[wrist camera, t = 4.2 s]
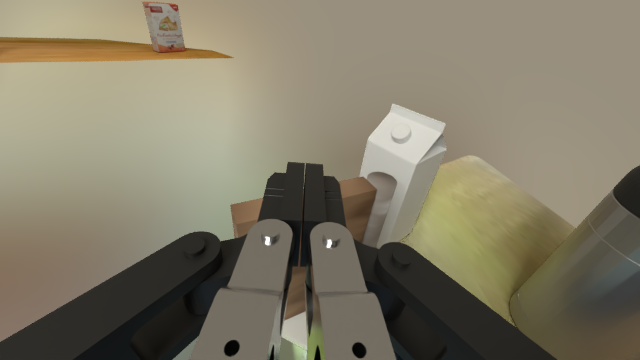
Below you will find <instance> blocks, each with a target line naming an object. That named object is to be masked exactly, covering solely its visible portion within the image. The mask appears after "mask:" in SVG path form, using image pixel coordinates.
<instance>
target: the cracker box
mask: <svg viewBox="0 0 640 360" xmlns="http://www.w3.org/2000/svg"><path fill="white" fill-rule="evenodd" d="M143 6H144V11H145V15H146V19H147V24H148V28H149V32H150V37H151V41H152V45H153V49H154V51H157V52H159V53H162V52H178V51H185V46H184V40H183V35H182V28H181V22H180V16H179V11H178V6H177V5H176V4H169V3H158V2H143Z"/></svg>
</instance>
